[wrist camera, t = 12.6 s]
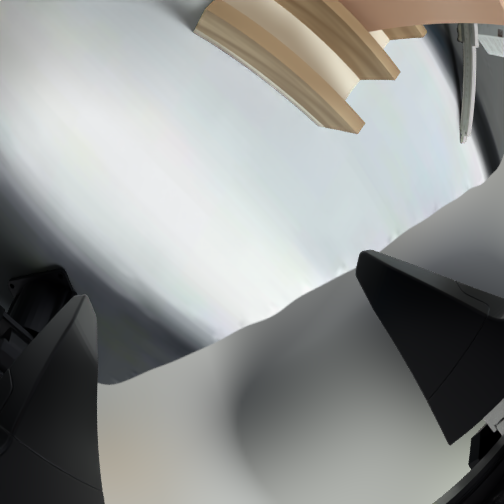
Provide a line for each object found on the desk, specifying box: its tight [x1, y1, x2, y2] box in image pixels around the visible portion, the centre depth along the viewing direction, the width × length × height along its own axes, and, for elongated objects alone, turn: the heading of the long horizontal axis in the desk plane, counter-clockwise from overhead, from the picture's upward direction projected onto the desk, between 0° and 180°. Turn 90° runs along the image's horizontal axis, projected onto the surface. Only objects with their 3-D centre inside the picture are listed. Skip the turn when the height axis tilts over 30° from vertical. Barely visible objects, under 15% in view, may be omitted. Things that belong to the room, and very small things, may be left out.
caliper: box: [457, 23, 479, 144], centre depth 18 cm, size 20×1×6 cm, turn 15°
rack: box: [193, 0, 427, 134], centre depth 13 cm, size 18×12×5 cm, turn 144°
